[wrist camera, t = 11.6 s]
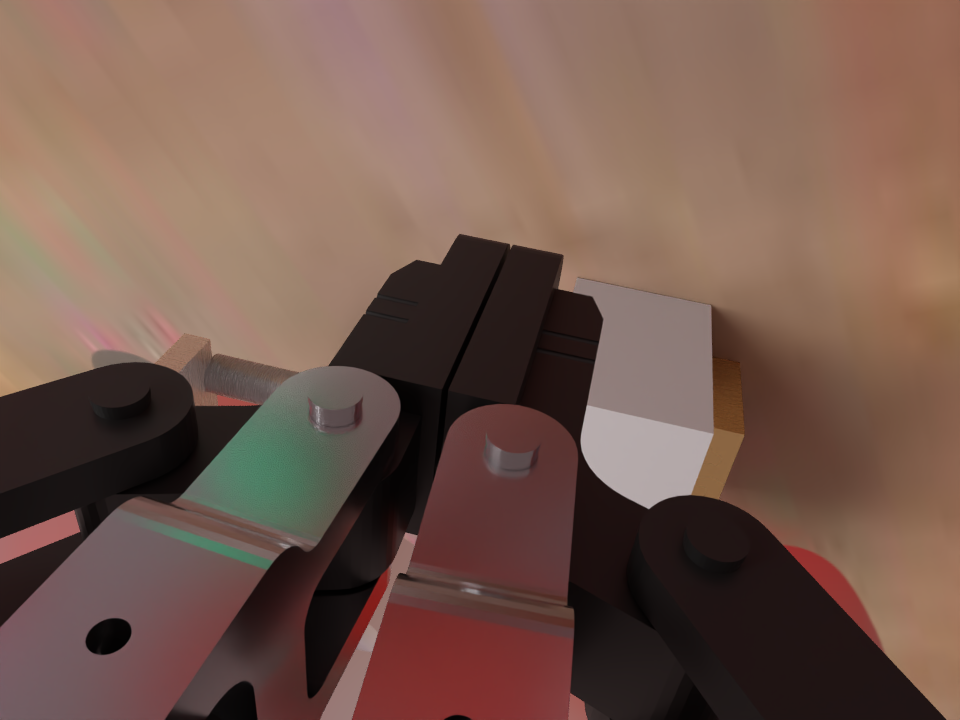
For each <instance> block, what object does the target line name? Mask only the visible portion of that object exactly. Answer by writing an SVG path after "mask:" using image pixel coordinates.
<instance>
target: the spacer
mask: <svg viewBox="0 0 960 720" xmlns="http://www.w3.org/2000/svg"><path fill="white" fill-rule="evenodd" d="M712 373H713V425H714V434H713V437H712V440H711V443H710V445H709V448H708V451H707V453H706V456H705V459H704V461H703V464H702V467H701V469H700V472H699V475H698V477H697V480H696V483H695V485H694V488H693V491H692V493H691V495H696V496H705V497H710V498H715V499H718V500H719V497H720V495H721V492H722V490H723V487H724V485H725V482H726V480H727V477H728V475H729V473H730V470H731V468H732V465H733V463H734V460H735V458H736V455H737V453H738V450H739V448H740V445H741V443H742V440H743V438H744V436H745V431H744V417H743V403H742V388H741V374H740V362H735V361H730V360H726V359H721V358H716V357H712Z"/></svg>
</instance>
